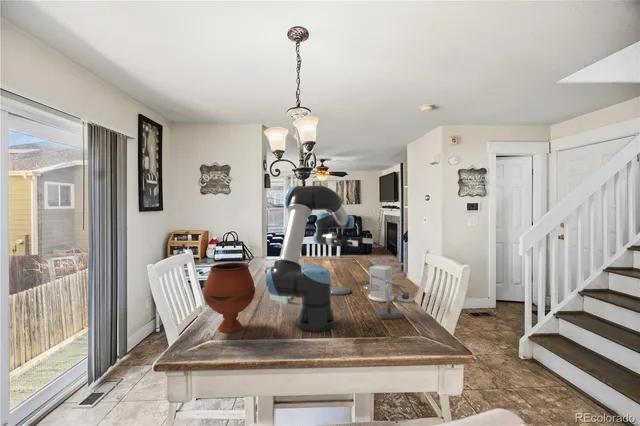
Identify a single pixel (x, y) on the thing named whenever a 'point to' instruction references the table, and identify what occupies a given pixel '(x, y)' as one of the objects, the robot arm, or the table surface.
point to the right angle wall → (280, 298)
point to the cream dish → (379, 298)
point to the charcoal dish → (339, 290)
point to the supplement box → (381, 272)
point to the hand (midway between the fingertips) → (365, 242)
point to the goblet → (229, 292)
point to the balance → (389, 299)
